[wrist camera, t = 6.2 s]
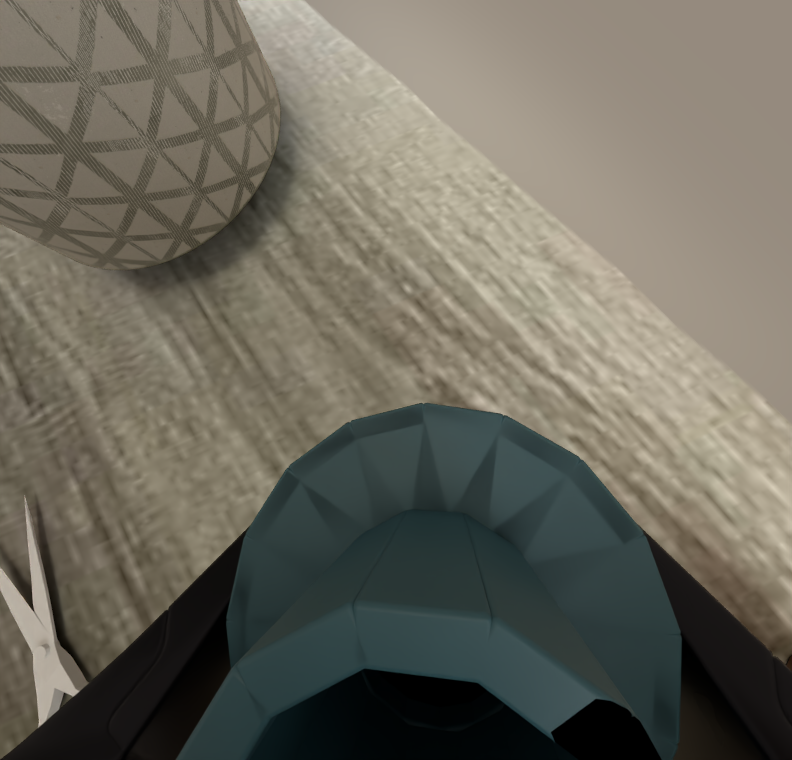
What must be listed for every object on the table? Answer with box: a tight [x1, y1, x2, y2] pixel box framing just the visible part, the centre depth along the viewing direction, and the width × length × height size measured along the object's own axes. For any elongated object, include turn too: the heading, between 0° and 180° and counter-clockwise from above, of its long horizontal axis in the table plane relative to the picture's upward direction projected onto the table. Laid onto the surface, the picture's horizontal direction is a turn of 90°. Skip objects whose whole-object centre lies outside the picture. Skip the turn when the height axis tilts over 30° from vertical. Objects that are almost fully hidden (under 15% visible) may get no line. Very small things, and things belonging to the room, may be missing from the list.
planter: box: [0, 0, 281, 270], centre depth 18 cm, size 19×19×18 cm
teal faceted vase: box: [176, 403, 682, 760], centre depth 8 cm, size 7×7×14 cm
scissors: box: [0, 495, 89, 728], centre depth 21 cm, size 11×1×20 cm
